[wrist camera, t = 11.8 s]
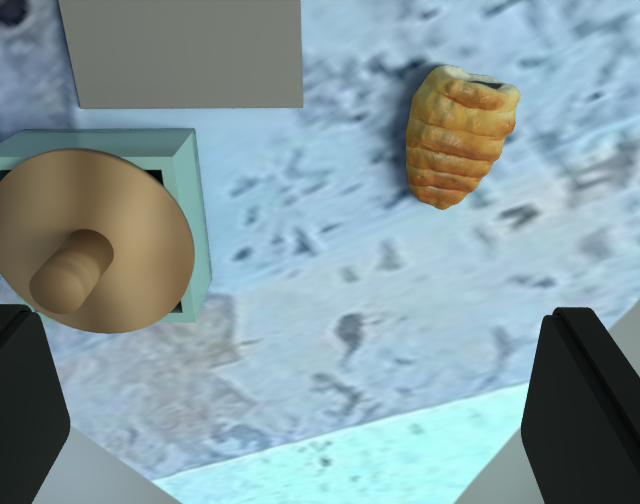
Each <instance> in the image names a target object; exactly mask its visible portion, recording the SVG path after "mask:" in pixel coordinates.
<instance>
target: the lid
mask: <svg viewBox="0 0 640 504" xmlns="http://www.w3.org/2000/svg"><path fill="white" fill-rule="evenodd" d="M194 262H195V248H194V241H193V236H192V232H191V229H190V226H189V223H188V220H187V218H186V216H185V215H184V213H183V211H182V209H181V207H180V206H179V204H178V203H177V201H176V200H175V198H174V197H173V196H172V195H171V194H170V192H169V191H168V190H167V189H166V188H165V187H164V186H163V185H162V184H161V183H160V182H159V181H158V180H157V179H156V178H154V177H153V176H152V175H150V174H149V173H148V172H146V171H145V170H144V169H142V168H140V167H139V166H137V165H135V164H133V163H132V162H130V161H128V160H126V159H123V158H121V157H119V156H116V155H113V154H110V153H107V152H103V151H99V150H93V149H88V148H61V149H55V150H50V151H46V152H43V153H41V154H38V155H35V156H33V157H31V158H29V159H28V160H26V161H24V162H22V163H21V164H20V165H18V166H17V167H15V168H14V169H13V170H12V171H10V172H9V173H8V174H7V175H6V176H5V177H4V178H3V179H2V181H1V182H0V273H1V274H2V276H3V277H4V279H5V280H6V281H7V283H8V284H9V285H10V286H11V288H12V289H13V290H14V291H15V292H16V293H17V294H18V295H19V296H20V297H21V298H22V299H23V300H24V301H25V302H27V303H28V304H29V305H30V306H32V307H33V308H34V309H36V310H37V311H39V312H40V313H42V314H44V315H45V316H47V317H49V318H51V319H53V320H55V321H57V322H59V323H61V324H64V325H66V326H69V327H72V328H75V329H79V330H83V331H88V332H94V333H106V334H113V333H125V332H131V331H135V330H139V329H142V328H145V327H147V326H149V325H152V324H154V323H156V322H157V321H159V320H160V319H162V318H164V317H165V316H166V315H167V314H168V313H170V312H171V311H172V310H173V309H174V308H175V306H176V305H177V304H178V303H179V302H180V300H181V298H182V297H183V295H184V294H185V291H186V289H187V287H188V284H189V282H190V280H191V277H192V273H193V269H194Z"/></svg>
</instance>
